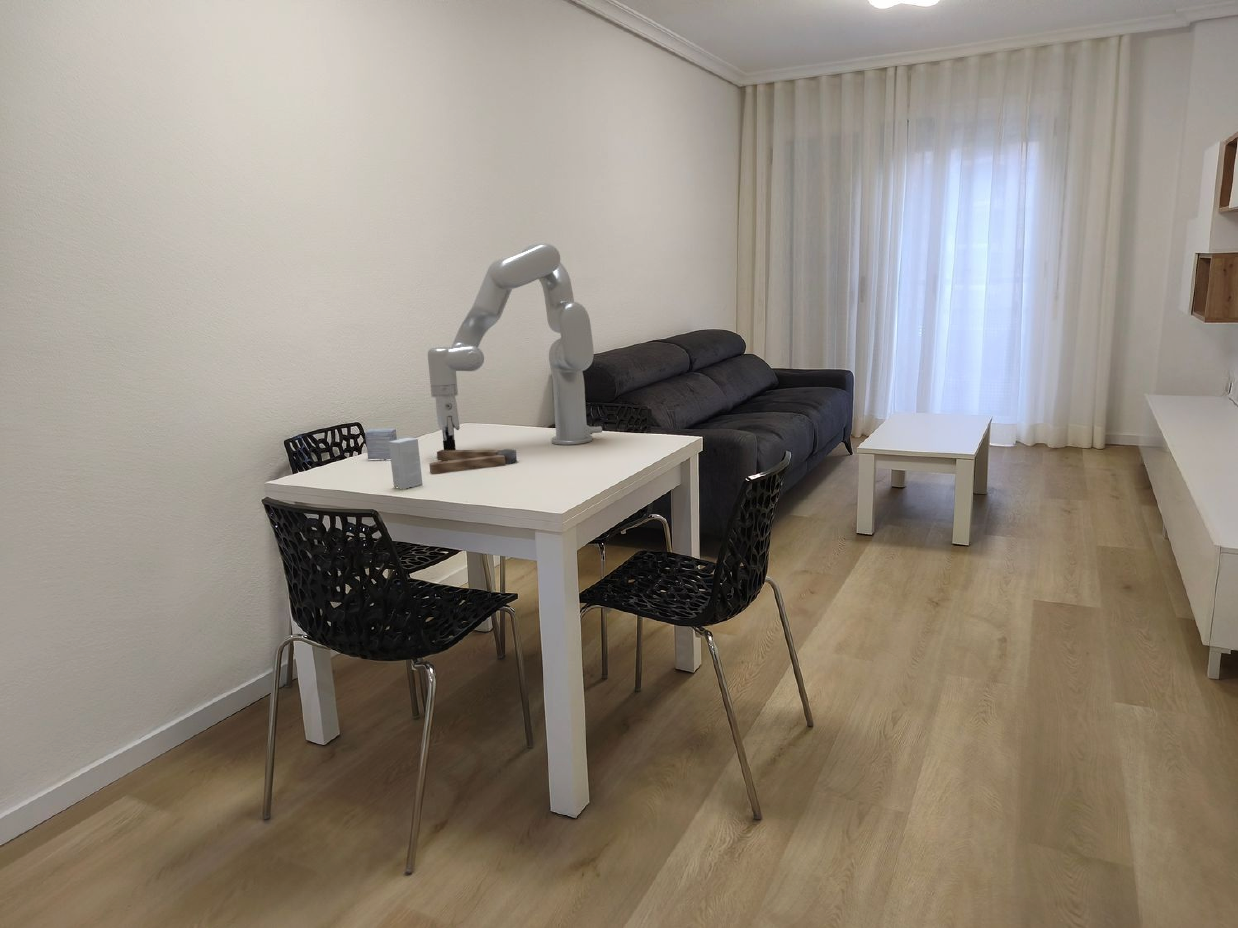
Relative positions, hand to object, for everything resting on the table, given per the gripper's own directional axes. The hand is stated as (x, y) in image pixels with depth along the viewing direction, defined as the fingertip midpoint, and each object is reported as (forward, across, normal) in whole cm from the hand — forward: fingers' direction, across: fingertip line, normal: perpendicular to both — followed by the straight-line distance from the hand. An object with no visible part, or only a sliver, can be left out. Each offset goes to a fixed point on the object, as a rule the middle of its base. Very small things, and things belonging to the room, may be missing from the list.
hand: (450, 453), depth 256 cm
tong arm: (+1, -8, -4) cm, 9 cm away
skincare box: (+1, -32, +16) cm, 36 cm away
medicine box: (+1, +9, +18) cm, 20 cm away
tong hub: (+1, -17, -4) cm, 18 cm away
